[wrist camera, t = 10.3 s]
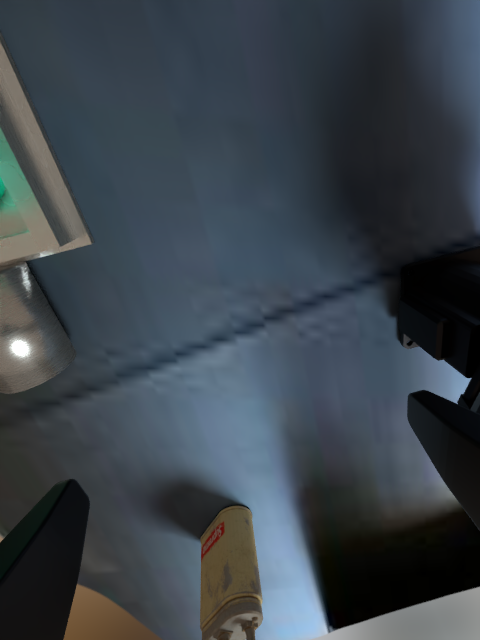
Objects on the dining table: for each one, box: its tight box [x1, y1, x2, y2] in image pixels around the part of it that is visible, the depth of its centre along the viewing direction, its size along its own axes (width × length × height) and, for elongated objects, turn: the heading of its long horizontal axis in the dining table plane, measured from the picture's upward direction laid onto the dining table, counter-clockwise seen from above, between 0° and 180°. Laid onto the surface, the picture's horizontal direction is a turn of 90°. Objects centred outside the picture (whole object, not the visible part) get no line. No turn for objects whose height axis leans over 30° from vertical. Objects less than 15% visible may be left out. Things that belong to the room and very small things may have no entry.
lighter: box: [200, 506, 263, 640], centre depth 26 cm, size 7×4×10 cm, turn 151°
